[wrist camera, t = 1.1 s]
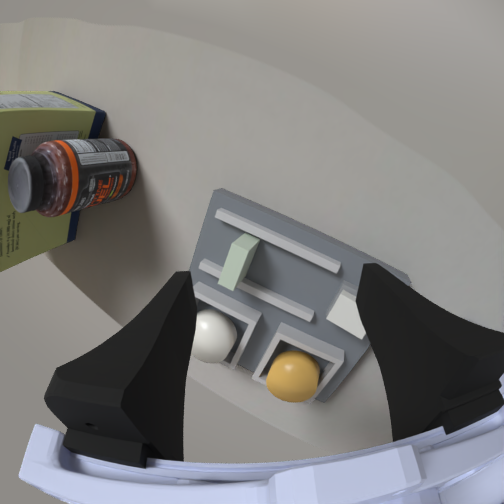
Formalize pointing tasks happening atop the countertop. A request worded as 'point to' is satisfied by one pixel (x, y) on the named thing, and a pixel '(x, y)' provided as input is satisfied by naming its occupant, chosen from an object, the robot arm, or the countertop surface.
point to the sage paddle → (238, 261)
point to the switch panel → (280, 289)
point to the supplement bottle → (71, 175)
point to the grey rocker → (347, 314)
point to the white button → (213, 336)
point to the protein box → (23, 144)
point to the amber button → (293, 376)
